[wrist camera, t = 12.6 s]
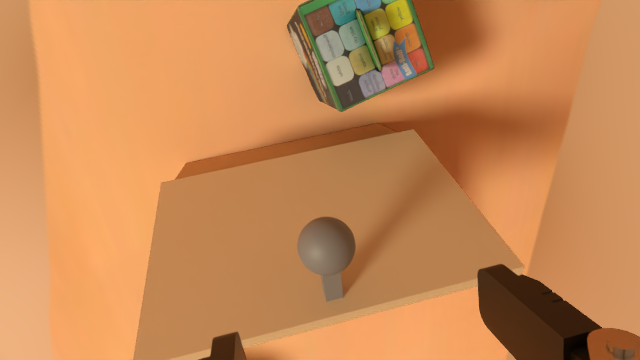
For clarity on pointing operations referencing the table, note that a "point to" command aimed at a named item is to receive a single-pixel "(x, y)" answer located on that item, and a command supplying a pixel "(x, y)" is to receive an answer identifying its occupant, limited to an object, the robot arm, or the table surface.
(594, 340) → the robot arm
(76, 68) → the table surface
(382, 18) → the chalk box
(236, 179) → the carton flap
